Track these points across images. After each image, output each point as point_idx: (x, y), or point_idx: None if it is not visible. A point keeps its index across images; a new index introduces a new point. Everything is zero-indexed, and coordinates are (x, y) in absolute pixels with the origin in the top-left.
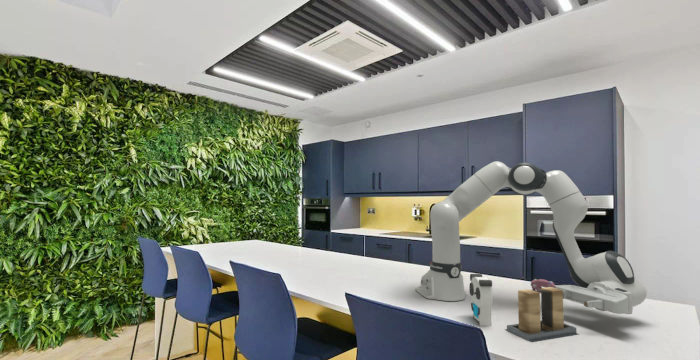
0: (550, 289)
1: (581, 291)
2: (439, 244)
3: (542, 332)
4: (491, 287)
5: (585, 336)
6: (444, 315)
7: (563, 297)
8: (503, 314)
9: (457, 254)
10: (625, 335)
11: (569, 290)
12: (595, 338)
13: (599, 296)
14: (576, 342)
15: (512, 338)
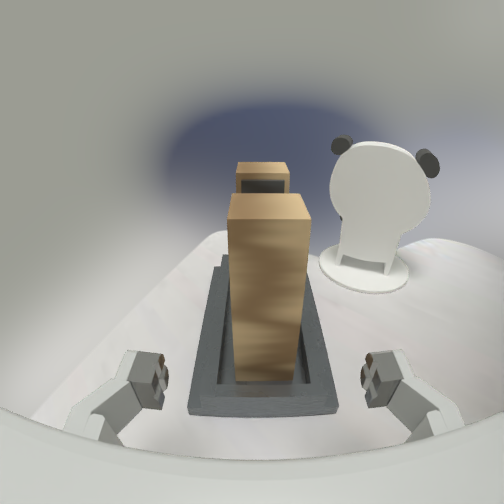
0: (260, 199)
1: (318, 491)
2: None
3: (221, 282)
4: (339, 158)
5: (189, 447)
6: (422, 244)
7: (370, 399)
8: (459, 342)
9: None
10: None
11: (417, 440)
12: None
13: (86, 453)
14: (171, 370)
15: None
